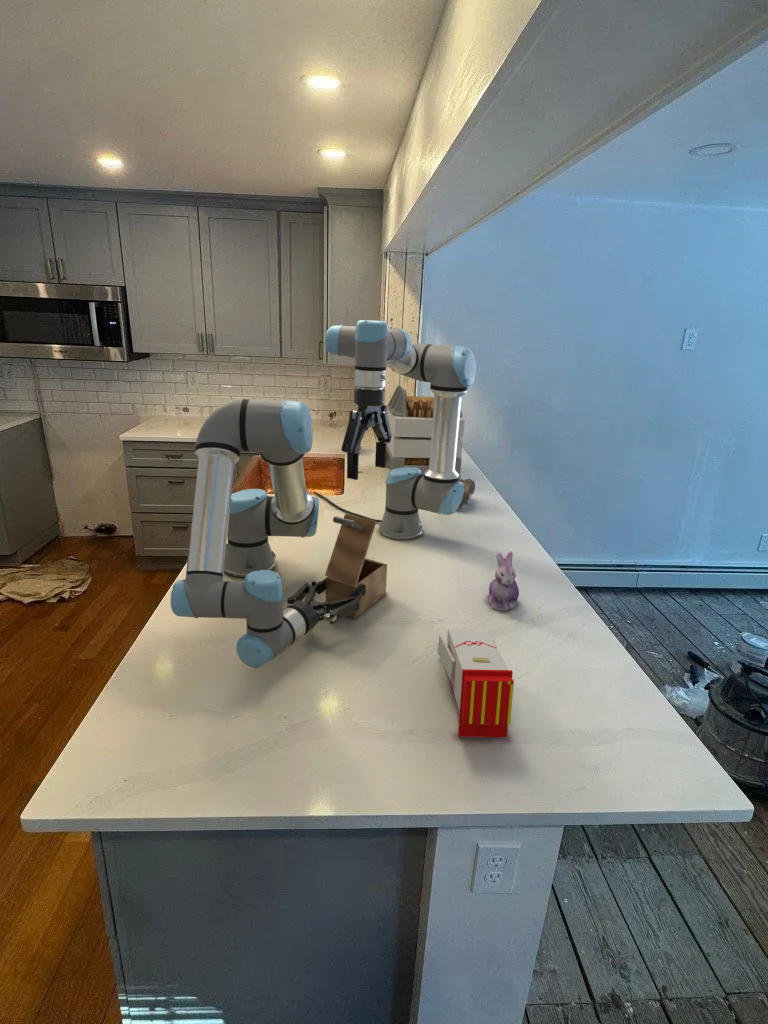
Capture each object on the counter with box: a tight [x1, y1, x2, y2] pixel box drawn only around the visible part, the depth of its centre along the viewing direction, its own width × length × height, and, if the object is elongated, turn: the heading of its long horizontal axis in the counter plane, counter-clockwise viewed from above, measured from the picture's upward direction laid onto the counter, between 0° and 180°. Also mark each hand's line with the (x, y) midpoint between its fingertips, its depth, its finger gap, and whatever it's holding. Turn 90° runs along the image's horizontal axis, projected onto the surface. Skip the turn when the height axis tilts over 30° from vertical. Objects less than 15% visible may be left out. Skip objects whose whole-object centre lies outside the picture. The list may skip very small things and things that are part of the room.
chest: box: [325, 557, 388, 620], centre depth 151 cm, size 16×9×9 cm, turn 150°
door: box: [324, 513, 377, 585], centre depth 141 cm, size 17×9×9 cm
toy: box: [437, 628, 515, 738], centre depth 117 cm, size 12×13×30 cm
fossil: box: [457, 478, 476, 510], centre depth 232 cm, size 22×10×15 cm
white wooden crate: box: [385, 384, 465, 480], centre depth 268 cm, size 34×33×41 cm
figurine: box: [487, 550, 520, 612], centre depth 153 cm, size 9×10×15 cm
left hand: (348, 584), depth 147 cm, fingers closed on chest, 9 cm apart
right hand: (366, 472), depth 144 cm, fingers open, 13 cm apart
